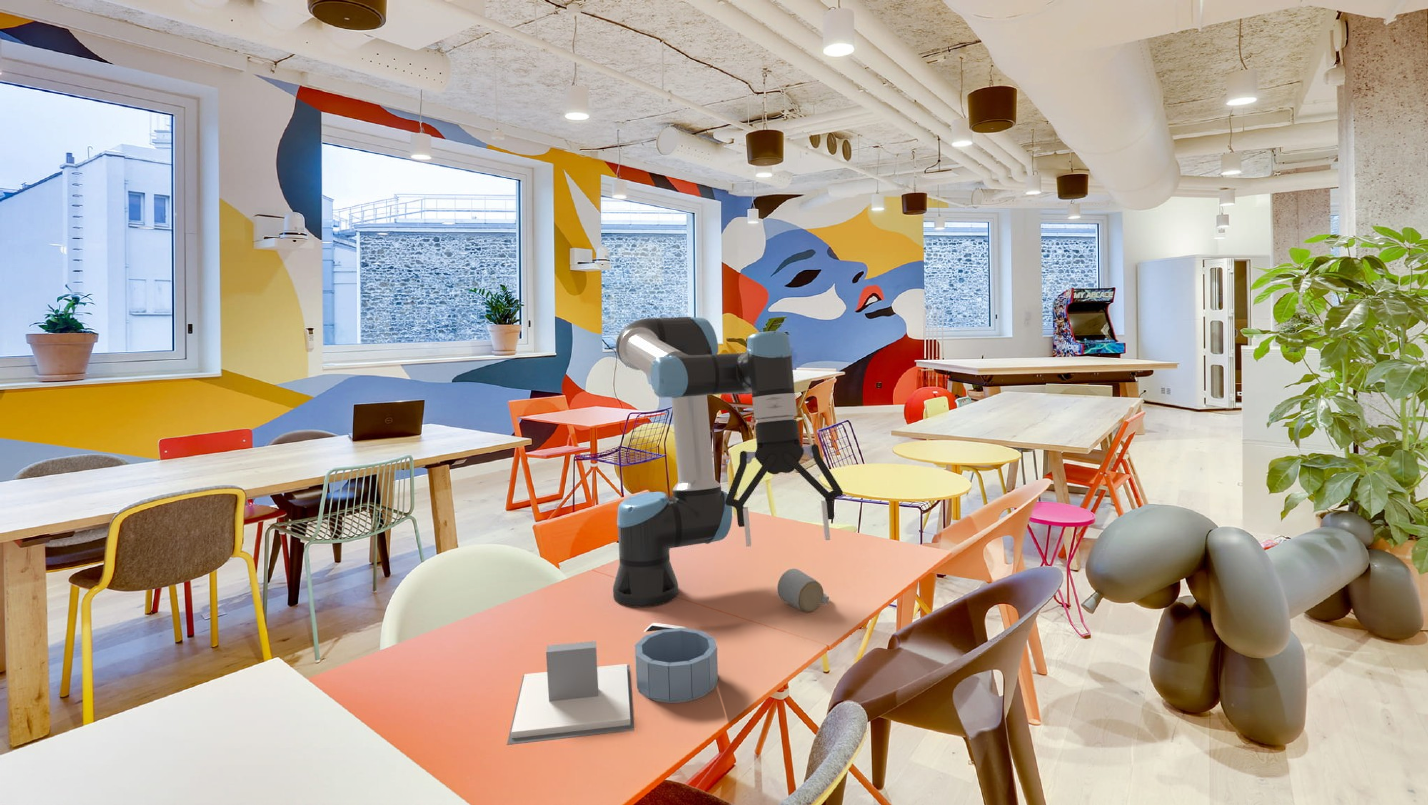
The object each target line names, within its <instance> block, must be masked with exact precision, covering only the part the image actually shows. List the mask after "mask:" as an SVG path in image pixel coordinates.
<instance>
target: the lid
mask: <svg viewBox="0 0 1428 805" xmlns="http://www.w3.org/2000/svg"><path fill="white" fill-rule="evenodd" d="M597 651H598V650H597V640H592V641H584V642H572V643H560V644H559V643H558V644H550V645H547V646H546V651H545V654H546V670H547V671H543V672H532V673H525V674H524V675H523V676H524V680H523V684H522V688H521V692H520V697H519V701H518V705H517V710H516V714H515V718H514V723H513V727H512V731H511V735H512V738H519V737H528V736H537V735H546V734H555V733H563V732H572V731H581V730H590V729H599V728H608V727H617V726H625V725H630V708H629V692H628V676H627V665H628V664H627V663H624V664H621V663H620V664H613V665H601V666H598V655H597V654H598V652H597Z"/></svg>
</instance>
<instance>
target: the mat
mask: <svg viewBox="0 0 1428 805" xmlns="http://www.w3.org/2000/svg"><path fill="white" fill-rule="evenodd" d="M627 676H628V692H629V708H630V725H625V726H617V727H608V728H599V729H590V730H581V731H572V732H563V733H555V734H546V735H537V736H528V737H519V738H512V735H511V731H512V727H513V723H514V718H515V714H516V710H517V705H518V701H519V697H520V692H521V688H522V684H523V680H524V675H522V679H521V683H520V687H519V691H518V696H517V701H516V704H515V709H514V712H513V716H512V722H511V725H510V731H509V734H508V735H509V736H508V739H507V743H506V746H508V745H517V744H526V743H535V742H543V741H553V740H562V739H569V738H570V739H571V738H579V737H588V736H597V735H605V734H614V733H622V732H631V731H632V732H633V731H635V724H634V723H635V722H634V710H633V696H632V683H631V680H632V679H631V668H630V664H627Z"/></svg>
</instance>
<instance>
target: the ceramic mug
mask: <svg viewBox="0 0 1428 805" xmlns="http://www.w3.org/2000/svg"><path fill="white" fill-rule="evenodd" d="M777 594H778V597H779V598H780V599H781V600H782V601H783V602H784V603H787V604H788V605H790V606H792V607H794V608H795V609H797V610H800V611H801V612H805V613H811V612H814V611H815V610H817V609H818V608H819V607H820V605H821V604H824V605H825V604H828V602H829V600H830V599H829V598H830V597H829V595H827V594H825V593H824V589H823V587H822V584H821V583H820V582H818V581H817V580H816V579H815V578H813V577H812V576H810V575H808V574H807V573H805V572H803V571H802V570H800V569H798V568H790V569H788V570H786V571H785V572H784V573H782V575H781V576H780V578H779V580H778V583H777Z"/></svg>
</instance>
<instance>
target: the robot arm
mask: <svg viewBox="0 0 1428 805" xmlns="http://www.w3.org/2000/svg"><path fill="white" fill-rule="evenodd" d="M746 346H747V347H746V352H745V351H744V352H737V353H736V352H735V353H733V352H732V353H719V343H718V338H717V334H716V331H715V328H714V327H713V325H712V324H711V323H710V321H708V319H706V318H704V317H693V316H681V317H652V318H651V317H650V318H649V317H648V318H647V317H646V318H641V319H638V320H635V321H634V322H631V323H629V324H627V325H626V326H625V327H624V328H623V329H622V330H621V331H620V333H619V334H618V336H617V338H616V344H615V352H616V355H617V356H618V358H619V360H620V361H621V362H622V364H624V365H626V367H628V368H630V369H632V370H635V371H642V373H644V374H646V375H647V376H648V377H649V378H650V383H651V387H652V390H653V393H654V394H655V396H657V397H659V398H670V399H671V410H672V411H671V412H672V421H673V423H672V424H673V434H674V435H673V436H674V444H675V445H674V446H675V455H676V456H675V457H676V468H677V469H676V471H677V483H676V484H675V485H674V487H673V488H672V497H668V495H667V493H665V492H663V491H654V492H652V491H646V492H641V493H637V494H634V495H632V496H628V497H627V498H625V499H623V500H622V501H621V502H620V503H619V505H618V508H617V519H616V525H617V533H618V534H617V535H618V536H617V537H618V538H617V540H618V554H619V555H618V556H619V557H618V558H619V564H618V565H619V566H618V569H617V572H616V577H615V580H614V583H613V586H612V594H613V599H614V601H615V602H616V603H618V604H621V605H623V606H626V607H636V608H646V607H647V608H649V607H655V606H661V605H664V604H667V603H669V602H671V601H673V600H674V599H676V598H677V597H678V595H679V583H678V579H677V577H676V574H675V572H674V568H673V567H672V563H671V561H670V560H671V558H670V549H675V548H680V547H681V548H682V547H688V546H694V545H701V544H705V545H708V544H709V545H710V544H711V543H714V542H718V541H719V542H720V541H722V540H724V539H725V538H726V537H727V536H728V534H729V532H730V530H731V527H732V524H733V523H732V522H733V508H734V509H735V510H736V519H737V526H738V527H739V528H742V527H743V528H744V532H745V533H744V534H745V536H744V537H745V544H746V545H745V546H746V548H747V547H751V546H752V536H751V528H750V518H749V506H744V505H745V504H746V502H747V501H748V500H749V498H750V496H751V495H752V493H753V492H754V491H755V490H756V488H757V487H758V485H759V484H760V482H761V481H762V479H764V477H765V475H766V474H767V473H769V474H772V475H777V474H781V473H784V474H790V473H791V472H793V471H794V470H796V472H798V473H799V475H801V476H802V478H804V479H805V480H806V482H808V483H809V485H811V486H812V487H813V488H814V489H815V491H816V492H818V493H819V494H820V495H821V496H822V497H823V498H824V500H820V503H821V514H822V524H823V533H824V534H823V535H824V540H825V541H831V534H830V525H829V520H834V519H835V509H834V500H835V499H837V498H839V497H841V496H843V492H844V491H843V490H842V488H841V486H840V485H839V483H838V481H837V480H836V478H835V477H834V475H833V473H832V472H831V471H830V469H829V467H828V466H827V464H826V463H825V461H824V460H823V459H822V457H821V451H820V448H819V445H818V444H815V443H814V444H812V445H808V446H804V447H803V446H802V445H801V442H800V441H801V440H800V430H799V429H800V428H799V421H798V420H797V419H795V417H796V416H797V415H798V410H797V401H796V400H797V399H796V394H795V393H796V392H795V383H794V382H795V381H794V380H795V379H794V371H793V370H794V369H793V358H792V354H793V353H792V350H791V345H790V338H789V335H788V334H787V333H786V332H784V331H782V330H769V331H762V332H756V333H752V334H751V335H749V336H748V337H747V339H746ZM728 394H732V395H733V394H735V395H749V394H751V397H752V398H751V400H752V408H753V418H754V420H755V421H757V423H755V426H754V429H755V439H756V450H755V451H746V450H742V451H740V453H739V465H738V468H737V469H736V473H735V474H734V478H733V480H732V483H731V485H730V488H729V491H728V493H727V491H724V490H722V484H721V483H720V482H718V481H717V480H716V479H715V475H714V463H713V462H714V461H713V451H712V450H713V449H712V438H711V429H710V428H711V426H710V414H709V405H708V396H711V395H712V396H714V395H715V396H716V395H728ZM804 454H806V455H807V456H808V457H809V458H811V459H812V458H813V460H814V462H815V464H816V465H817V467H818V469H819V470H820V471H821V473H822V475H823V477H824V478H825V480H826V482H827V483H828V485H829V486H830V488H831V489H832V490H831V491H828V490H827V489H826V488H825V487H824V486H823V485H822V483H820V482H819V481H818V480H817V479H816V478H815V477H814V476H813V475H812V474H811V473H810V472H809V471H808V470H807V469H806V468H805V467H804V466H802V464H801V463H800V461H801V459H802V457H803V455H804ZM754 458H755V459H756V461H757V462H758V463H759V464H760V465H761V467H760V468H759V470H758V471H757V472H756V473H755V476H754V477H753V478H752V480H751V481H750V483H749V484H748V485H747V487H746V488H745V490H744V491H743V493H742V494H741V496H740V497H739V499H736V495H737V493H738V490H739V486H740V485H741V482H742V479H743V477H744V474H745V471H746V469H747V465H749V464H751V463H752V460H753V459H754Z"/></svg>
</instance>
